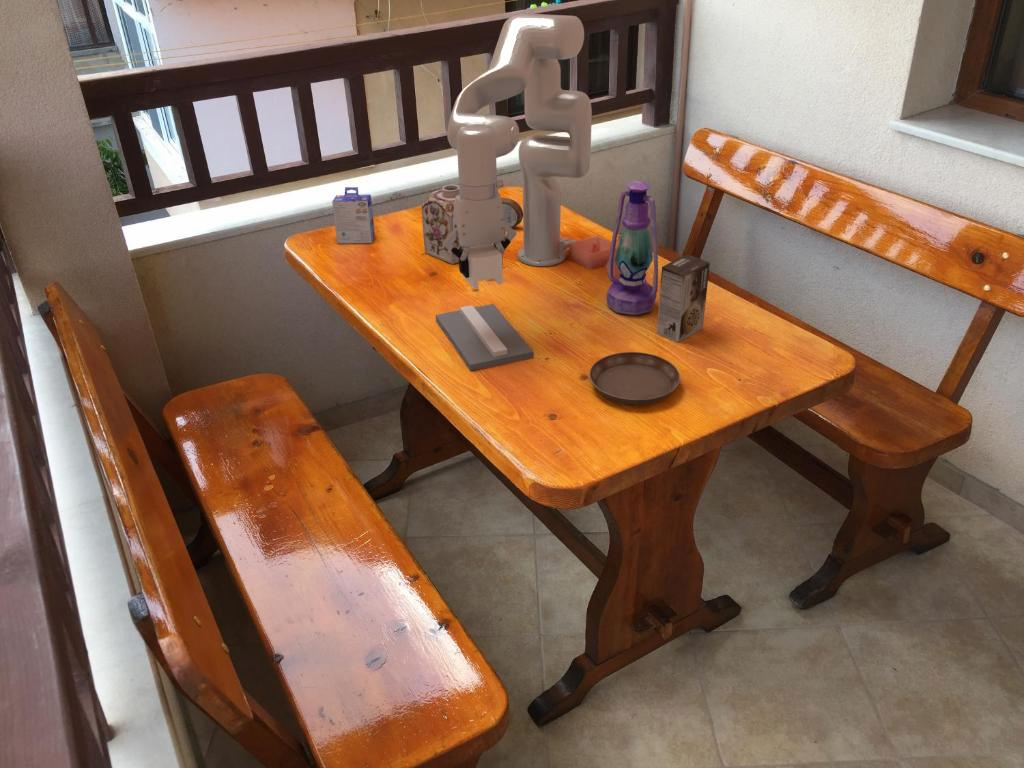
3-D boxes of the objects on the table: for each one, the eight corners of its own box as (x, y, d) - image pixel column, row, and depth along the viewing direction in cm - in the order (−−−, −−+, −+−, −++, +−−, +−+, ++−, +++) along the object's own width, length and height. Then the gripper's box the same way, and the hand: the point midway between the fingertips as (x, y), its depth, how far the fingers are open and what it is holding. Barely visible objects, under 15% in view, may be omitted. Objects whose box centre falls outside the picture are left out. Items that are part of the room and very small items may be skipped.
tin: (523, 228, 242) (523, 199, 237) (519, 232, 240) (518, 203, 235) (475, 220, 247) (474, 192, 243) (470, 224, 245) (469, 196, 240)
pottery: (568, 258, 224) (569, 222, 219) (597, 250, 229) (599, 214, 223) (611, 282, 211) (613, 245, 206) (641, 273, 216) (644, 236, 210)
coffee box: (679, 319, 194) (686, 253, 185) (703, 328, 190) (711, 261, 182) (654, 333, 189) (660, 265, 180) (679, 343, 185) (685, 274, 176)
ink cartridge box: (376, 236, 239) (370, 185, 231) (373, 243, 234) (367, 192, 226) (340, 236, 239) (334, 185, 231) (337, 244, 234) (330, 193, 226)
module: (489, 268, 185) (488, 240, 181) (502, 283, 178) (502, 254, 175) (461, 273, 183) (459, 245, 179) (473, 288, 176) (472, 259, 173)
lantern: (593, 306, 200) (597, 180, 184) (622, 289, 207) (629, 167, 192) (639, 323, 193) (648, 194, 177) (668, 305, 200) (680, 180, 184)
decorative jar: (486, 252, 228) (483, 186, 218) (453, 265, 221) (449, 198, 211) (455, 240, 235) (452, 176, 225) (423, 253, 228) (418, 187, 219)
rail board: (493, 309, 200) (493, 299, 198) (533, 357, 181) (533, 346, 179) (435, 320, 195) (435, 310, 194) (470, 371, 176) (470, 359, 175)
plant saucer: (616, 420, 161) (616, 406, 159) (573, 375, 175) (574, 362, 173) (696, 399, 167) (697, 385, 165) (649, 357, 181) (650, 344, 179)
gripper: (511, 178, 176) (513, 259, 185) (430, 189, 171) (436, 272, 180) (525, 189, 170) (526, 272, 179) (442, 201, 165) (447, 286, 174)
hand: (481, 271), depth 180 cm, fingers closed on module, 6 cm apart
